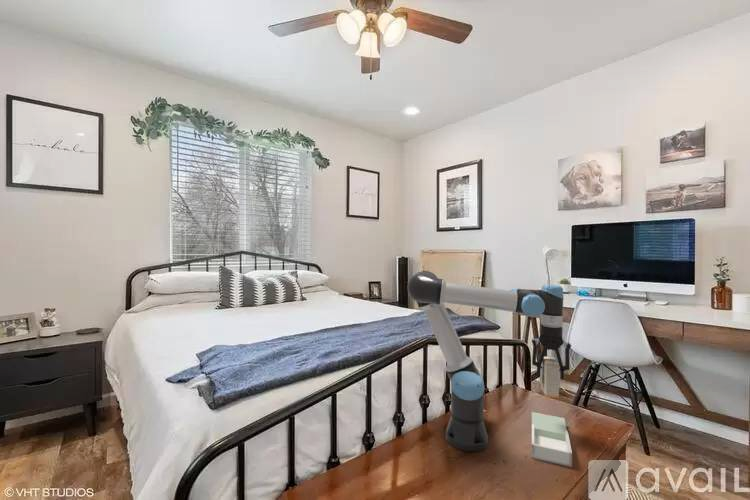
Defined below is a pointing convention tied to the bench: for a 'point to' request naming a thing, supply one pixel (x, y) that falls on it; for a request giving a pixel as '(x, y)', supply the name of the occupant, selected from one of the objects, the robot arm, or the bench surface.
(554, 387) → the supplement box
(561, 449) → the tray
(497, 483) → the bench surface
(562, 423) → the board
